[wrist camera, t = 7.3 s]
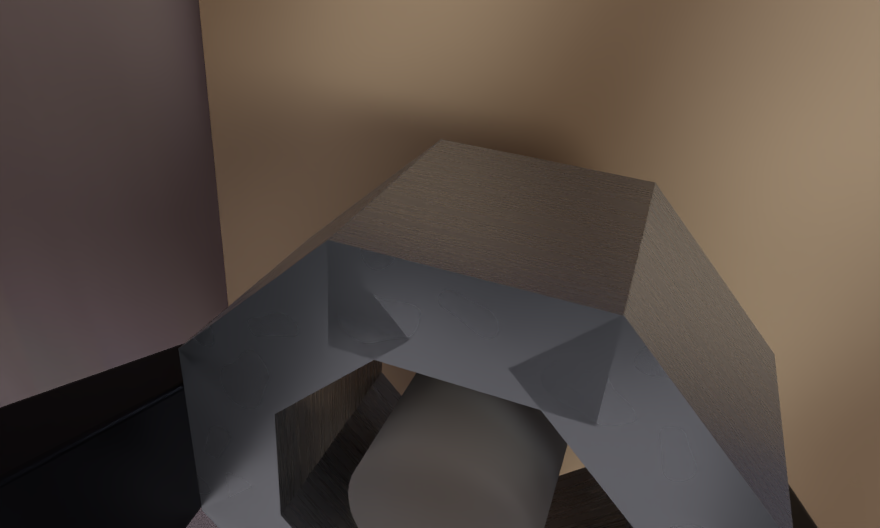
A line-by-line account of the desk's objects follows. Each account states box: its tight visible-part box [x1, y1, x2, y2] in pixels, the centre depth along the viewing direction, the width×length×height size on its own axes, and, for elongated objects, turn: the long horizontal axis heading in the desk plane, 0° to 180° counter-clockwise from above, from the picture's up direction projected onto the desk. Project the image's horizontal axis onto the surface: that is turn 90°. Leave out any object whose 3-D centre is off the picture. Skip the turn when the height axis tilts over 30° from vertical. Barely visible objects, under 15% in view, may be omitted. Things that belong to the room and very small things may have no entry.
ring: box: [178, 139, 793, 528], centre depth 9 cm, size 6×6×3 cm
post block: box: [199, 0, 880, 528], centre depth 10 cm, size 12×12×6 cm
